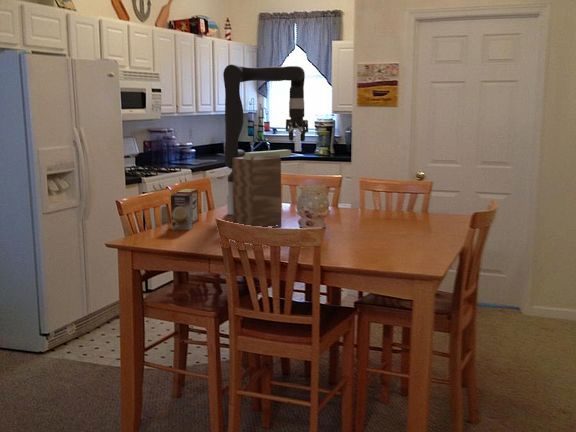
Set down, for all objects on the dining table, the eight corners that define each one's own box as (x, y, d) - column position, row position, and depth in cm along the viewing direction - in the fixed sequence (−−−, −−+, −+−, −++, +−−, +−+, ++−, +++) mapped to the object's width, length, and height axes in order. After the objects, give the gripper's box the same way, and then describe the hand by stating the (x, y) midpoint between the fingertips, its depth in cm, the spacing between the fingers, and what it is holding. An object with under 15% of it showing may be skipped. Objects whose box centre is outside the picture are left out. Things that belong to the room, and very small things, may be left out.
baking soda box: (190, 224, 306) (189, 191, 303) (178, 223, 308) (176, 190, 305) (198, 220, 315) (197, 188, 312) (186, 220, 317) (185, 188, 314)
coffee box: (170, 229, 294) (169, 195, 291) (174, 227, 300) (173, 193, 297) (190, 230, 293) (189, 195, 290) (193, 227, 299) (192, 193, 296)
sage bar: (245, 159, 290) (245, 152, 289) (285, 155, 305) (285, 149, 304) (250, 160, 287) (250, 153, 286) (291, 156, 302) (291, 150, 301)
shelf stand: (233, 225, 303) (232, 154, 297) (260, 220, 313) (259, 152, 307) (254, 230, 291) (253, 157, 285) (281, 225, 301) (280, 154, 295)
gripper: (281, 107, 319) (281, 140, 322) (300, 108, 308) (300, 141, 311) (293, 107, 323) (293, 139, 326) (312, 107, 313) (312, 141, 316)
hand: (296, 140), depth 319 cm, fingers open, 8 cm apart
